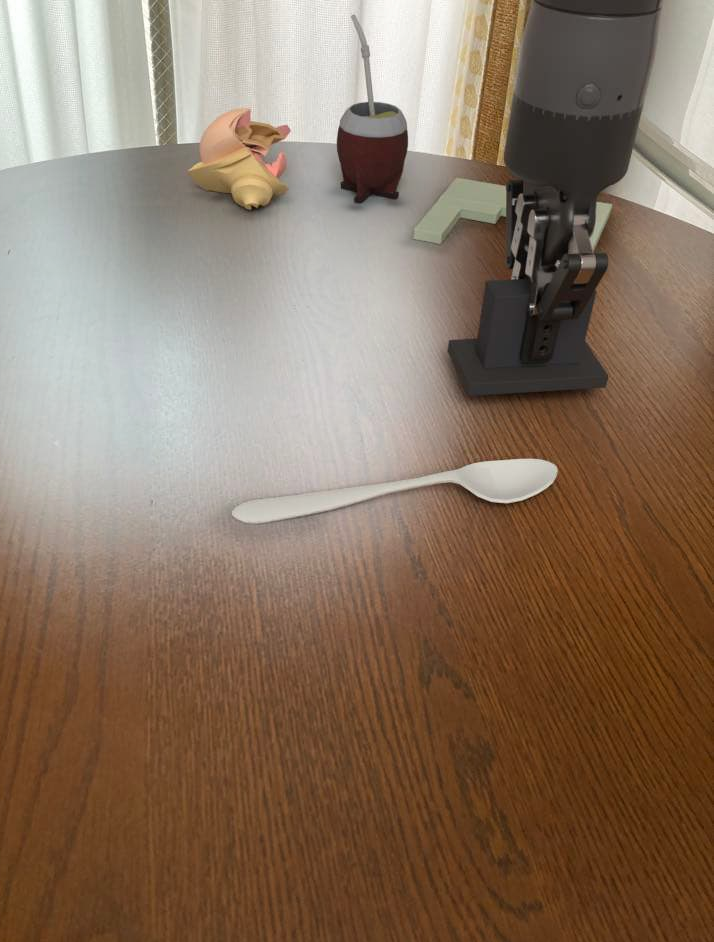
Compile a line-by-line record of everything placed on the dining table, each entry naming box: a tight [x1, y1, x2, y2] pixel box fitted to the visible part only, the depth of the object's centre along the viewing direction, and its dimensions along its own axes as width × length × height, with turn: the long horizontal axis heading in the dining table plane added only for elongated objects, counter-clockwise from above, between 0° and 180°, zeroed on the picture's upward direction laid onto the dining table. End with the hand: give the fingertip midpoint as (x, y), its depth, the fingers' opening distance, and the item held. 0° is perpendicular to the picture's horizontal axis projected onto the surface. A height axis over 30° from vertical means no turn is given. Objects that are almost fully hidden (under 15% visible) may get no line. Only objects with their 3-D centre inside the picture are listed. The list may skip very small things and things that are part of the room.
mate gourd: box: [336, 14, 409, 204], centre depth 89 cm, size 8×8×15 cm
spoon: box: [231, 458, 559, 525], centre depth 57 cm, size 4×21×2 cm, turn 100°
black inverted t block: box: [447, 278, 609, 397], centre depth 65 cm, size 10×8×6 cm
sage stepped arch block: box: [412, 177, 613, 266], centre depth 88 cm, size 16×14×1 cm
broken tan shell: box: [187, 107, 292, 210], centre depth 90 cm, size 9×10×10 cm
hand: (528, 348), depth 65 cm, fingers closed on black inverted t block, 2 cm apart
